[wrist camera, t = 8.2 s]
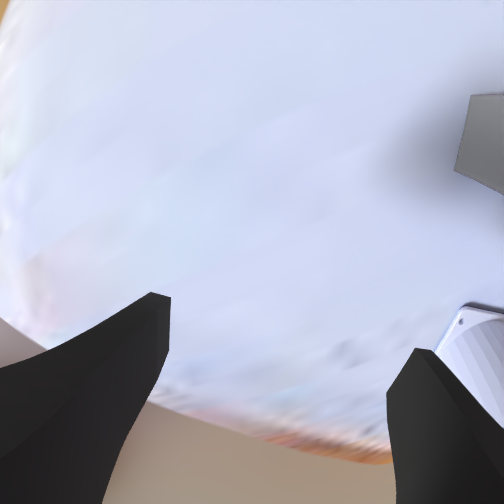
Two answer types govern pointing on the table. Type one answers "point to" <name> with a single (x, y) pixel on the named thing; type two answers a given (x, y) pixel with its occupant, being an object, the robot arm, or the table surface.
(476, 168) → the grey button block
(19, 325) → the table surface
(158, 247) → the table surface
